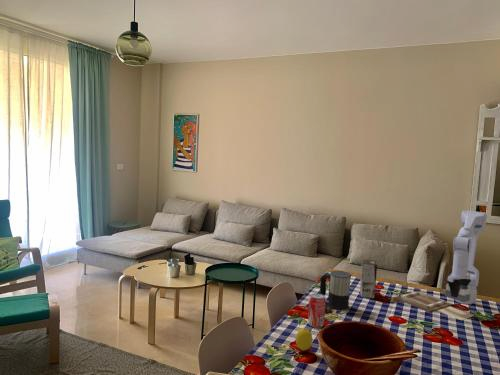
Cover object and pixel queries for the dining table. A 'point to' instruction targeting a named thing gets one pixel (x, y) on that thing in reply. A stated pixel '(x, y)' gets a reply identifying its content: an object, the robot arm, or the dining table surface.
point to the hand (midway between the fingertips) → (457, 295)
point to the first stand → (455, 313)
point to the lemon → (304, 339)
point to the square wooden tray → (422, 301)
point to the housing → (459, 293)
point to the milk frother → (336, 289)
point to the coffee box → (368, 278)
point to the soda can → (316, 310)
